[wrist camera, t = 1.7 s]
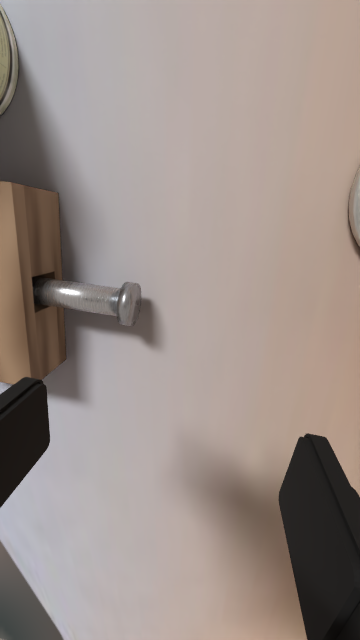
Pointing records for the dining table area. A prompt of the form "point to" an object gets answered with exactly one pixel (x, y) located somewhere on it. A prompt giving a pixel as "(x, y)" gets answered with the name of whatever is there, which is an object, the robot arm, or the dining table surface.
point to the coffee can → (7, 62)
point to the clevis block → (29, 283)
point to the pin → (90, 298)
